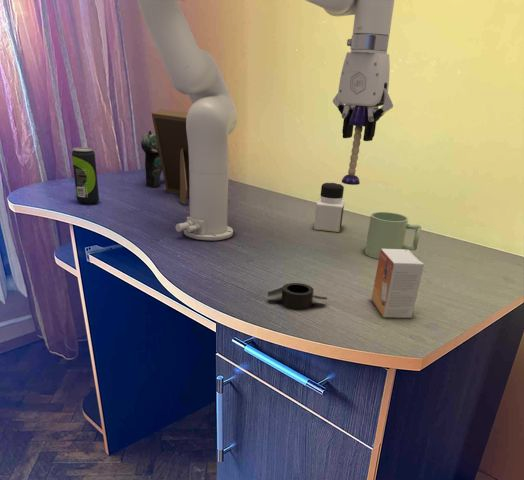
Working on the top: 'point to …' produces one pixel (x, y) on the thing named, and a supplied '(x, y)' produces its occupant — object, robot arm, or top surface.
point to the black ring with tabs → (295, 295)
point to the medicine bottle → (329, 208)
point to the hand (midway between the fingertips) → (357, 138)
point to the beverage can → (85, 175)
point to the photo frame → (173, 150)
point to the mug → (389, 233)
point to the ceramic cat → (151, 159)
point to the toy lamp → (356, 142)
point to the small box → (396, 283)
